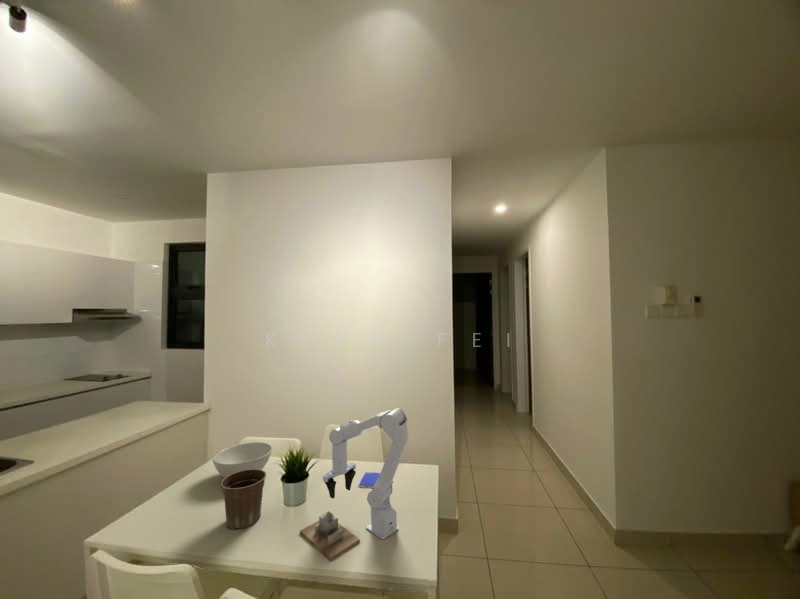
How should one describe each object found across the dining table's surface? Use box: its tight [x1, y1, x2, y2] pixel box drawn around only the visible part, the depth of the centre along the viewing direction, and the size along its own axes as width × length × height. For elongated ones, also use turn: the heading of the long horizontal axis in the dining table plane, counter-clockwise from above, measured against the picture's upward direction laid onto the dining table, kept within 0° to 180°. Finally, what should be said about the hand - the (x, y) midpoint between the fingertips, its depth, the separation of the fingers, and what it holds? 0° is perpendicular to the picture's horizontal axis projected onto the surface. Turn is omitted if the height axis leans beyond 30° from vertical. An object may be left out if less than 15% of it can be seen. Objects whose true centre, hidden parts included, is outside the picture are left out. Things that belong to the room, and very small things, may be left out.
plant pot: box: [220, 469, 267, 530], centre depth 129 cm, size 16×16×16 cm
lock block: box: [318, 511, 339, 540], centre depth 118 cm, size 6×4×6 cm, turn 45°
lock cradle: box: [299, 520, 361, 561], centre depth 117 cm, size 20×12×4 cm, turn 45°
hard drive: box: [357, 471, 381, 489], centre depth 157 cm, size 2×8×12 cm
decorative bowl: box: [212, 441, 273, 479], centre depth 164 cm, size 27×27×12 cm
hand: (340, 493), depth 129 cm, fingers open, 7 cm apart
